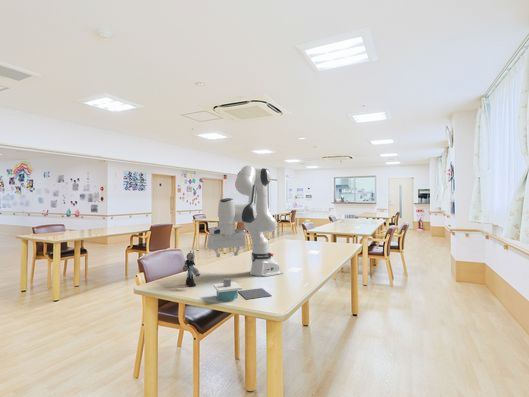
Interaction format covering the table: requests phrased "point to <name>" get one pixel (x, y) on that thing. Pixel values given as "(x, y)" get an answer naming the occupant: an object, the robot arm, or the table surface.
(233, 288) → the cover sheet
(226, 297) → the bowl
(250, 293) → the mat
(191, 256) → the robot
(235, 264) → the table surface
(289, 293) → the table surface
